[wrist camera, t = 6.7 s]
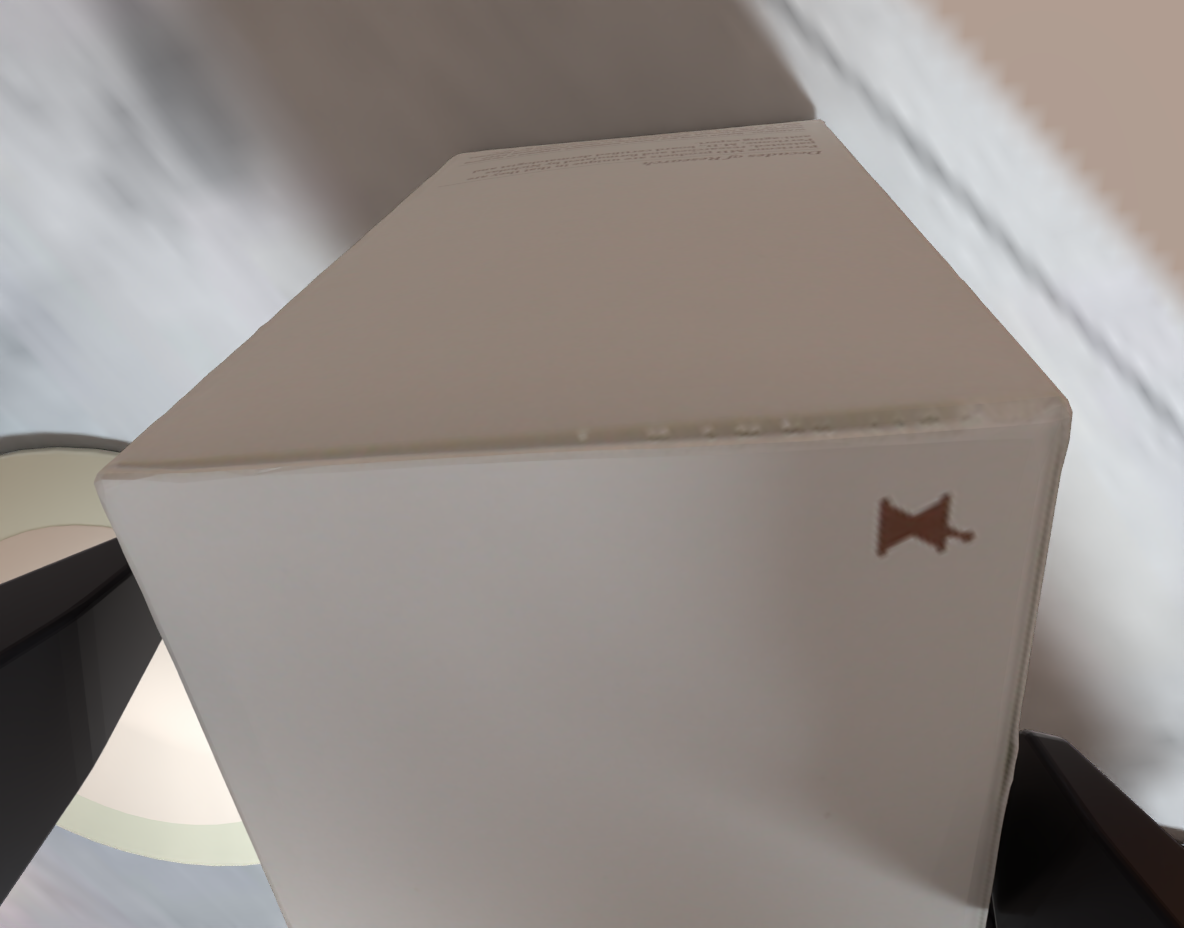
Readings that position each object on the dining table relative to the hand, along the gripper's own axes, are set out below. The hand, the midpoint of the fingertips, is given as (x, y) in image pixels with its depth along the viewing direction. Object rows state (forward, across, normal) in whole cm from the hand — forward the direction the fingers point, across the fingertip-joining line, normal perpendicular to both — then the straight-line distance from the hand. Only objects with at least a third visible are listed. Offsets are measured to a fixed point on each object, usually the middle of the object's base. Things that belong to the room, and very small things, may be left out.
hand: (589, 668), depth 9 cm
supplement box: (+12, 0, 0) cm, 12 cm away
